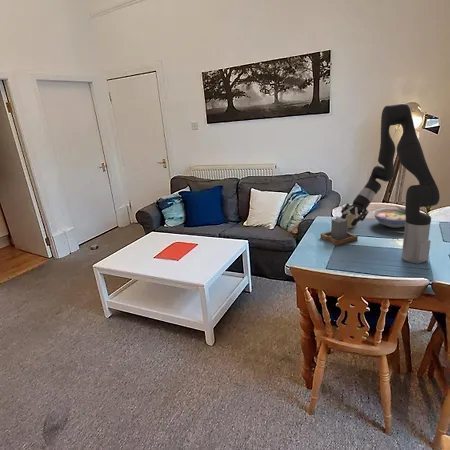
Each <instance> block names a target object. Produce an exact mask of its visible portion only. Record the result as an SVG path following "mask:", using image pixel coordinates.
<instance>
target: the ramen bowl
mask: <svg viewBox="0 0 450 450" xmlns="http://www.w3.org/2000/svg"><path fill="white" fill-rule="evenodd" d="M372 214H373V216H374V218H375V220H377V222H378V223H380V224H381V225H383V226H387V227H388V228H393V229H399V228H400V229H401V228H402V227H404V228H405V221H406V216H405V208H402V207H400V206H398V205H396V206H395V207H383V208H378V209H374V211H373V212H372Z"/></svg>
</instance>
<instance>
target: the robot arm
mask: <svg viewBox="0 0 450 450" xmlns="http://www.w3.org/2000/svg"><path fill="white" fill-rule="evenodd" d="M380 119H381V120H380V145H379V152H378V158H377V162H378V164H377V165H375V166H374V167H373V168H372V171H371V173H370V176H369V178H368V181H367V183H366V184H365V185H364V187H363V188H362V189H361V190H360V191H359V193H358V194H357V196H356V197H355V198H354V199H353V201H352V203H351V204H352V205H349V204H350V203H345V204H346V206H345V207H344V208H343V209H342V208H341V211H340V213H341V216H339V217H340V218H343V219H345V218H346V216H348V215H351V214H353V215H356V219H354V220H353V222H352V223H351V225H352V226H355V225H356V224H357V225H358V222H360V221H361V222H363V221H364V220H365V218H366V217H367V215H368V214H369V213H370V212H369V211H368V207H369V206H370V205H371V203H372V202H373V201H374V198H375V197H376V195H377V194H378V192H379V191H380V190H381V188H382V184H381V183H380V182H379V181H377V180H380V181H383V182H385V183H386V182H387V183H388V182H390V181H392V180H393V178H394V176H395V165H394V164H395V163H394V159H395V153H397V158H398V160H399V162H400V164H401V165H402V167H404V169H406V170H407V171H408V172H409V173H410V174H412V175H413V176H414V177H415V178H416V180H417V181H418V183H419V184H414V185H413V184H412V185H410V186H409V187H408V188H407V190H406V193H405V208H404V209H405V216H406V221H405V226H404V232H403V239H402V240H403V241H402V252H401V259H402V260H403V261H405V262H408V263H412V264H417V265H419V263H420V264H422V262H423V263H426V262H428V261H429V255H430V248H431V247H430V246H431V240H430V238H429V236H430V231H431V230H430V229H431V225H432V216H431V215H429V214H427V213H424V212H421V211H420V210H421V209H420V208H423V207H424V208H425V207H433V206H434V207H435V206H437V205H438V203H439V202H440V191H439V187H438V185H437V183H436V181H435V179H434V176H433V175H432V173H431V171H430V169H429V166H428V163H427V160H426V158H425V154H424V150H423V149H422V145H421V143H420V141H419V137H418V135H417V131H416V128H415V125H414V120H413V115H412V110H411V107H410V106H409V104H407V103H405V102H403V103H396V104H395V103H394V104H388V105H385V106H384V107H383V109H382V112H381V117H380ZM396 125H400V126H401V127H402V134H401V135H400V139H399V141H398V143H397V146H396V145H395V142H394V140H393V138H392V137H391V133H390V127H391V126H396ZM344 210H345V211H344ZM349 211H350V212H349ZM346 213H347V214H346ZM425 261H426V262H425Z"/></svg>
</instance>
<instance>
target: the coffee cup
mask: <svg viewBox="0 0 450 450" xmlns="http://www.w3.org/2000/svg"><path fill="white" fill-rule="evenodd" d="M346 204H347V203H345V204H343V205H342V206H341V210H342V209H343V208H344V207H345V206H346ZM348 204H349V205H352V204H353V203H348ZM344 211H345V210H344ZM349 212H350V211H349ZM346 214H347V213H346ZM354 219H356V215H353V214H351V215H348V216H346V218H345V220H348V221H347V229H353V228H357V225H358V223H357V224H356V225H355V226H352V225H351V223H352V222H353V220H354Z"/></svg>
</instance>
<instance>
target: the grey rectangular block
mask: <svg viewBox="0 0 450 450" xmlns="http://www.w3.org/2000/svg"><path fill="white" fill-rule="evenodd" d="M340 217H341V216H336V217H335V218H334V219H331V224H330V225H331V227H330V229H331V230H330V231H331V238H333V239H336V240H342V239H345V238H347V232H348V228H347V221H348V220H345V219H343V218H340Z"/></svg>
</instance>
